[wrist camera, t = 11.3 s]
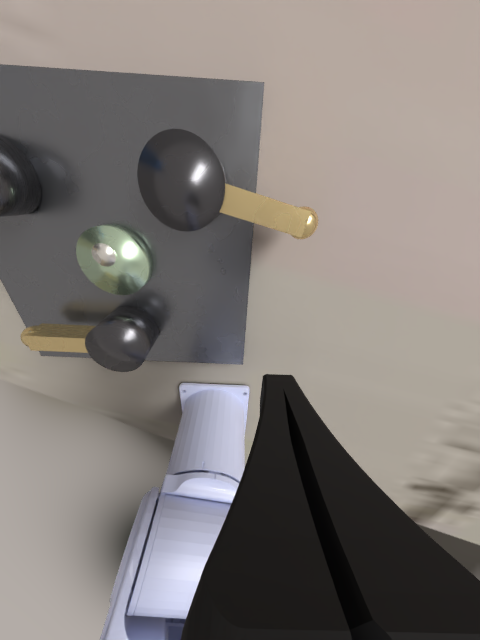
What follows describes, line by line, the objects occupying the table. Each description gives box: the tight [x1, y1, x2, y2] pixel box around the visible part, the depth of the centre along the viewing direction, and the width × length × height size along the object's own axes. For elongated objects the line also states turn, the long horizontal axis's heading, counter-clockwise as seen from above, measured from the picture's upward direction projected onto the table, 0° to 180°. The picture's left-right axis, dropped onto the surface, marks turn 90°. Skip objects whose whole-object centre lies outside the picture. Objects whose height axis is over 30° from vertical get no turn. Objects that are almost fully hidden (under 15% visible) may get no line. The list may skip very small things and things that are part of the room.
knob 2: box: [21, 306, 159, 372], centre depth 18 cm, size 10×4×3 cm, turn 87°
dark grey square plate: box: [0, 64, 264, 365], centre depth 16 cm, size 20×20×2 cm
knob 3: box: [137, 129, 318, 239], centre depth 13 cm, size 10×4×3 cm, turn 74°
